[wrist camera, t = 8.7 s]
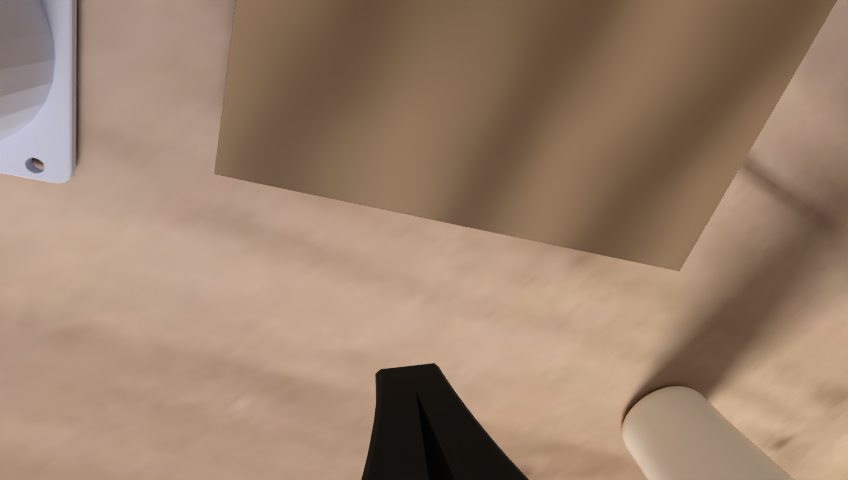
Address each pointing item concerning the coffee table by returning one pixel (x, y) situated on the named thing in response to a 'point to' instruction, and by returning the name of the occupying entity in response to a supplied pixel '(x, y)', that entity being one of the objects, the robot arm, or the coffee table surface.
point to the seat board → (514, 110)
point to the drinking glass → (691, 440)
